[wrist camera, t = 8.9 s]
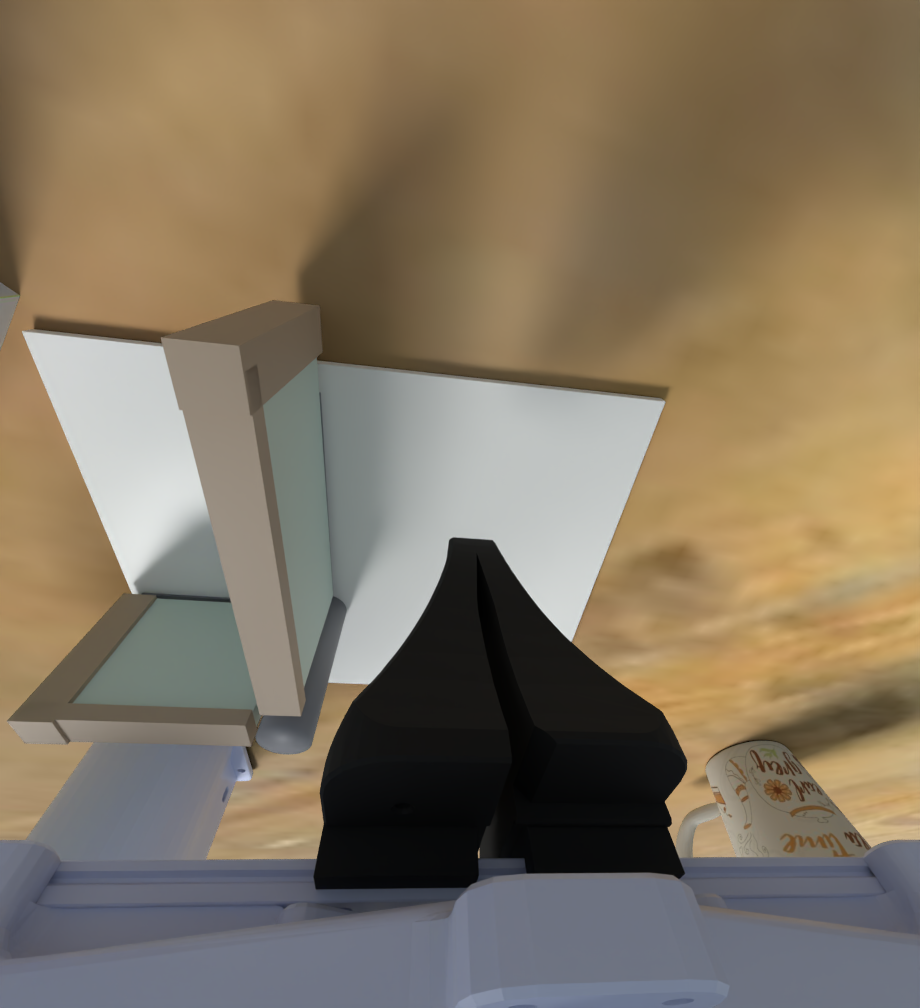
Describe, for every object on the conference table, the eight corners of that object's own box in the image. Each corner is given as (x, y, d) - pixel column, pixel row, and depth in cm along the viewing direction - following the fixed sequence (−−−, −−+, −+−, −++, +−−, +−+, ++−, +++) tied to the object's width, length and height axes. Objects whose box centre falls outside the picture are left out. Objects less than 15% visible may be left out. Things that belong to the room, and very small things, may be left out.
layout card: (550, 685, 25) (552, 693, 25) (170, 669, 23) (165, 677, 23) (660, 398, 16) (666, 402, 15) (32, 329, 14) (18, 331, 13)
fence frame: (348, 617, 21) (314, 754, 16) (145, 606, 21) (28, 747, 15) (347, 589, 20) (310, 725, 15) (133, 576, 19) (2, 716, 14)
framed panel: (337, 595, 19) (300, 719, 14) (307, 593, 19) (258, 717, 14) (319, 305, 13) (238, 345, 8) (273, 299, 13) (160, 337, 8)
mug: (825, 753, 31) (969, 945, 22) (684, 815, 36) (758, 990, 27) (767, 717, 28) (908, 922, 19) (623, 789, 33) (685, 978, 24)
